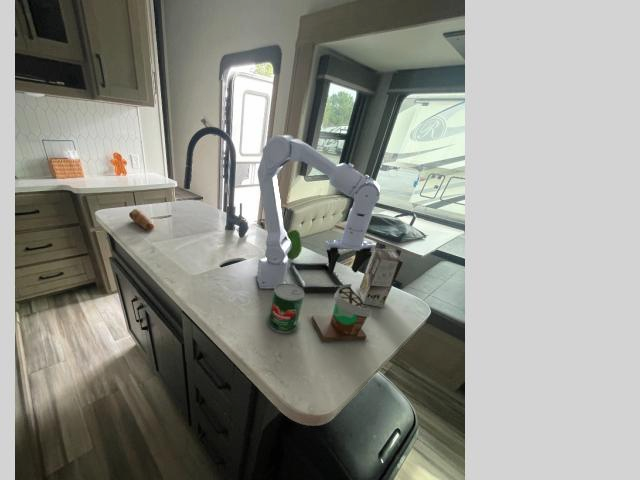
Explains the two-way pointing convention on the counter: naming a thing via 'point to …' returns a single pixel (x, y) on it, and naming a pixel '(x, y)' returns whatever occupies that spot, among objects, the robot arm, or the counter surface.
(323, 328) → the cutting board
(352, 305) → the food container
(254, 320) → the counter surface
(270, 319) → the canned tomato
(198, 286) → the counter surface
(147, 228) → the bread
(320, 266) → the dark square tray
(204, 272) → the counter surface
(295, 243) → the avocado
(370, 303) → the coffee box
